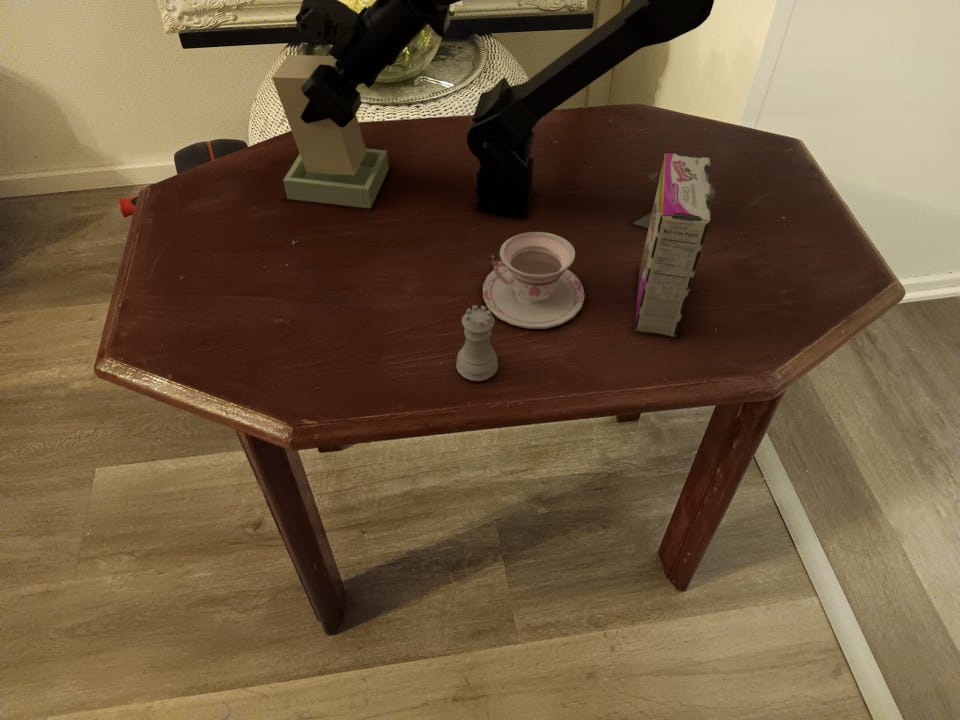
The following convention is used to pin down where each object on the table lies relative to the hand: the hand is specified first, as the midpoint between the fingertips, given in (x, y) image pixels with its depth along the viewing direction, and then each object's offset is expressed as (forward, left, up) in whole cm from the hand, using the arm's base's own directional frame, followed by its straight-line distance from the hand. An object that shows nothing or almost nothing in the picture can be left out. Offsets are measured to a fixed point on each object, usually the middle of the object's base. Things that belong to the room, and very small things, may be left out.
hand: (311, 108), depth 92 cm
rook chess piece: (-30, +27, -11) cm, 42 cm away
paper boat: (-47, -7, -11) cm, 49 cm away
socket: (-2, 0, -11) cm, 11 cm away
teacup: (-33, +14, -11) cm, 38 cm away
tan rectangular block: (-2, -1, -8) cm, 8 cm away
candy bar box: (-47, +11, -11) cm, 50 cm away
